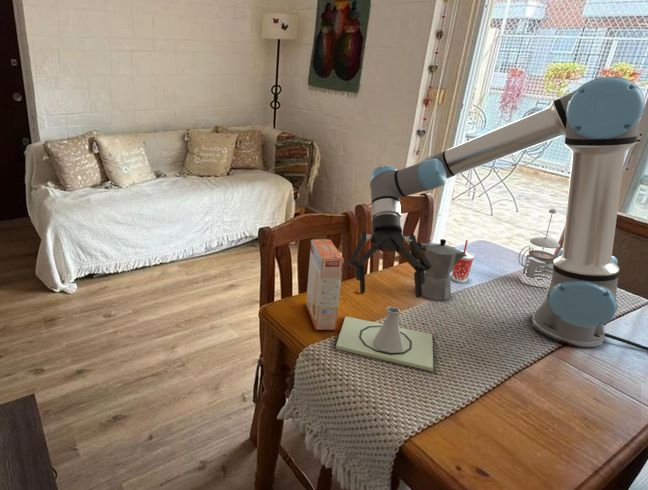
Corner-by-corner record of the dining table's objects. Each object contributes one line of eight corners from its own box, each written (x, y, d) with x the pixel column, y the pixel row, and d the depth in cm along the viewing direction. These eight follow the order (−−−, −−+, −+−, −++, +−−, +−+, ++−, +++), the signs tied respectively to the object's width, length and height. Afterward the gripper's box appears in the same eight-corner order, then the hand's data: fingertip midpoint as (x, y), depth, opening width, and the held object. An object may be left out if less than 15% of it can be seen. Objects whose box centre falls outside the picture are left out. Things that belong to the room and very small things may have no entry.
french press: (560, 288, 140) (581, 214, 132) (523, 288, 140) (542, 213, 132) (540, 275, 149) (558, 204, 141) (505, 274, 149) (521, 204, 141)
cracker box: (337, 331, 116) (344, 258, 109) (314, 331, 116) (320, 258, 109) (325, 304, 129) (331, 238, 122) (305, 304, 129) (310, 238, 122)
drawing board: (431, 337, 113) (432, 333, 113) (432, 371, 100) (433, 367, 100) (345, 319, 122) (345, 315, 121) (335, 348, 108) (336, 345, 108)
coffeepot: (458, 292, 137) (469, 238, 131) (456, 305, 129) (467, 249, 123) (406, 280, 144) (414, 229, 138) (401, 292, 136) (409, 238, 131)
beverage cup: (450, 273, 150) (458, 235, 145) (471, 278, 146) (478, 239, 142) (447, 280, 145) (454, 240, 140) (468, 285, 141) (476, 245, 137)
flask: (399, 338, 111) (404, 303, 108) (407, 355, 104) (413, 318, 101) (370, 336, 112) (374, 301, 109) (376, 353, 105) (381, 316, 102)
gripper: (430, 227, 121) (438, 302, 111) (337, 222, 124) (337, 294, 115) (439, 214, 114) (448, 293, 105) (341, 210, 118) (341, 286, 108)
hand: (390, 294), depth 110 cm, fingers open, 13 cm apart
